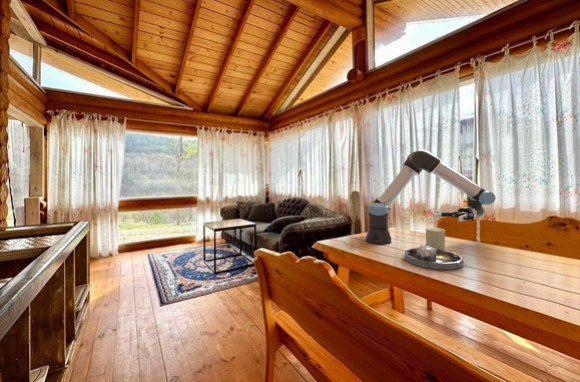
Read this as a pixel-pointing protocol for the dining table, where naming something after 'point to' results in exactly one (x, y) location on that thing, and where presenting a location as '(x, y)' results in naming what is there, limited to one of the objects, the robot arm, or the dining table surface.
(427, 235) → the can
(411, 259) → the carrier plate
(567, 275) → the dining table surface
